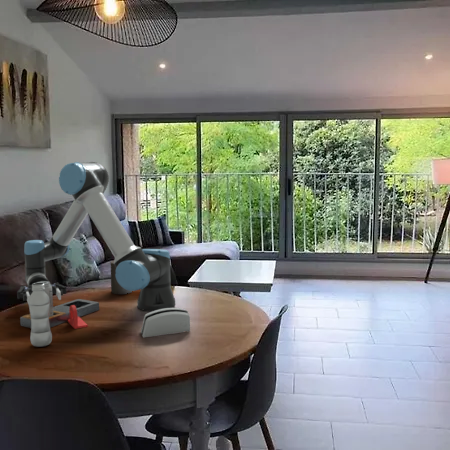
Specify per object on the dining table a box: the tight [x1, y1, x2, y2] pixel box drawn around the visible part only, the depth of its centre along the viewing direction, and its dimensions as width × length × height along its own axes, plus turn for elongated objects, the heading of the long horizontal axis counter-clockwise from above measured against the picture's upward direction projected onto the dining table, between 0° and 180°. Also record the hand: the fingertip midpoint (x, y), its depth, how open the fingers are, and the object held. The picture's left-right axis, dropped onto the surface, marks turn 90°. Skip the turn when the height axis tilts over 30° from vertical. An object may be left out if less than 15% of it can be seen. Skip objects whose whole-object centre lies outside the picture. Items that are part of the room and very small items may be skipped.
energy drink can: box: [37, 280, 54, 317], centre depth 187 cm, size 6×6×15 cm
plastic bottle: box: [27, 283, 53, 348], centre depth 164 cm, size 6×7×20 cm
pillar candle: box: [110, 259, 133, 295], centre depth 231 cm, size 10×10×15 cm
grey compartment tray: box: [19, 298, 100, 329], centre depth 194 cm, size 11×28×3 cm, turn 150°
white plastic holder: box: [140, 307, 191, 338], centre depth 176 cm, size 17×5×10 cm, turn 112°
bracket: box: [67, 305, 89, 330], centre depth 187 cm, size 12×4×8 cm, turn 31°
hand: (44, 297), depth 182 cm, fingers open, 10 cm apart
